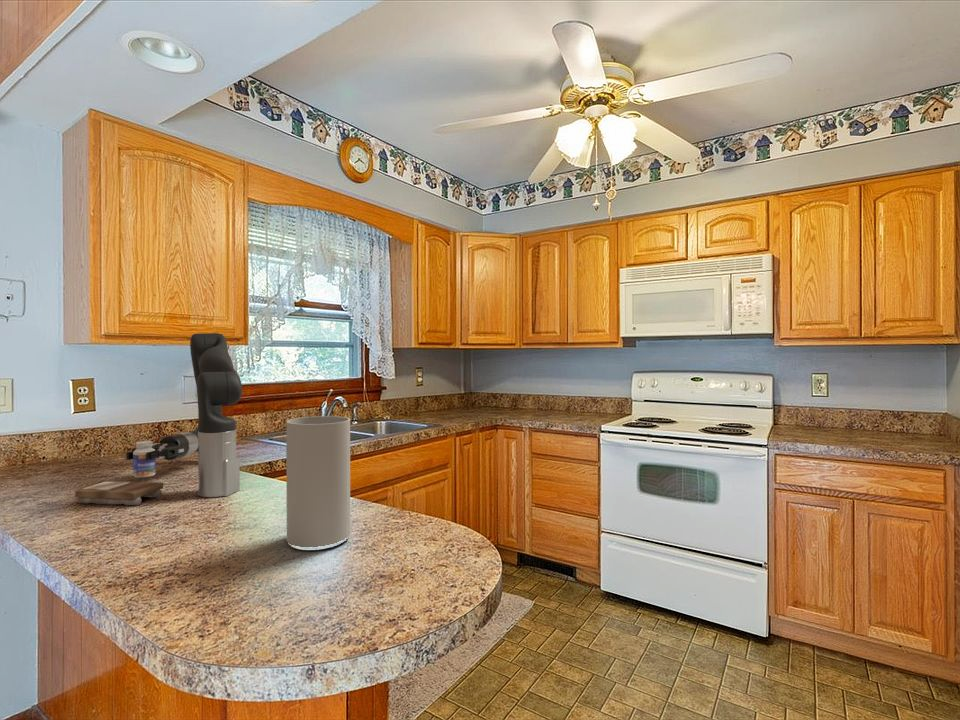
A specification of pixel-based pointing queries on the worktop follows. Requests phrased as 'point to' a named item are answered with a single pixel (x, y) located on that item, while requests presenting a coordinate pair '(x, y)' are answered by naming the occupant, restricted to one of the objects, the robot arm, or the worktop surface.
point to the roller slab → (119, 492)
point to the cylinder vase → (318, 480)
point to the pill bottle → (143, 460)
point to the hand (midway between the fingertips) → (137, 456)
